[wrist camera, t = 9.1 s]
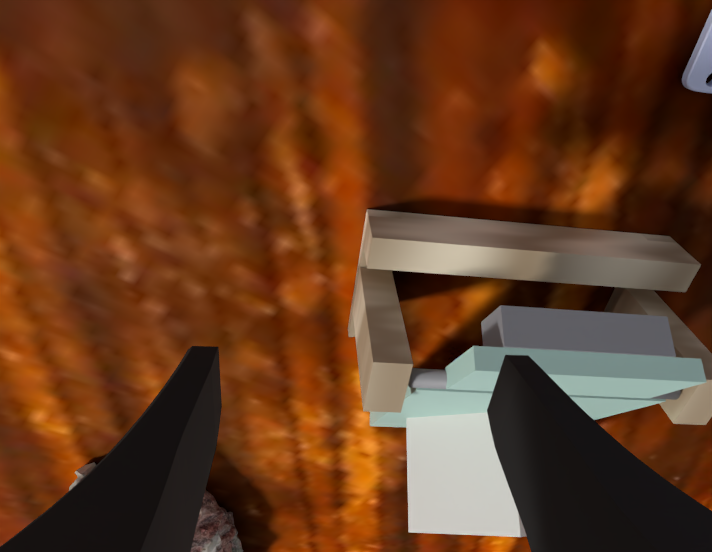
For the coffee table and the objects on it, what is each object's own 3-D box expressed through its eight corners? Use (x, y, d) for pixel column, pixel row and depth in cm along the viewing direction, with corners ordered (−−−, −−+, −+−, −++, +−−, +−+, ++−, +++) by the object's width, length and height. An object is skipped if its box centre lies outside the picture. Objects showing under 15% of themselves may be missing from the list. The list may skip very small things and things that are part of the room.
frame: (669, 236, 24) (772, 329, 19) (614, 344, 28) (688, 449, 22) (367, 209, 23) (385, 303, 17) (347, 328, 26) (357, 438, 21)
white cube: (509, 410, 24) (520, 536, 22) (537, 425, 28) (550, 533, 26) (406, 417, 26) (408, 532, 24) (446, 430, 30) (451, 529, 28)
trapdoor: (727, 320, 19) (744, 383, 18) (546, 393, 31) (551, 432, 30) (432, 300, 18) (435, 367, 17) (364, 384, 30) (364, 425, 29)
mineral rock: (262, 566, 38) (257, 636, 34) (146, 580, 37) (129, 652, 34) (210, 419, 29) (196, 491, 26) (63, 437, 29) (27, 512, 26)
